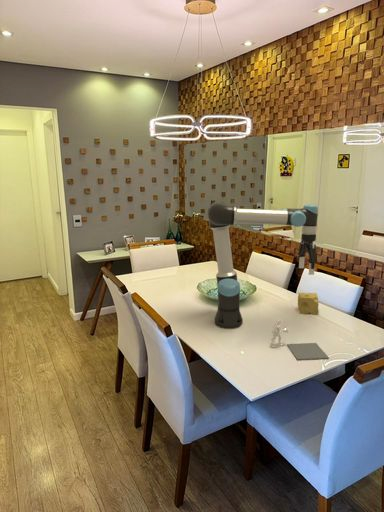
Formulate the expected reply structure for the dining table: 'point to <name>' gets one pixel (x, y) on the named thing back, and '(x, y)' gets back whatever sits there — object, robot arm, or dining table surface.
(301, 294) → the cheese
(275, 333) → the figurine
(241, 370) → the dining table surface
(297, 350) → the mat
